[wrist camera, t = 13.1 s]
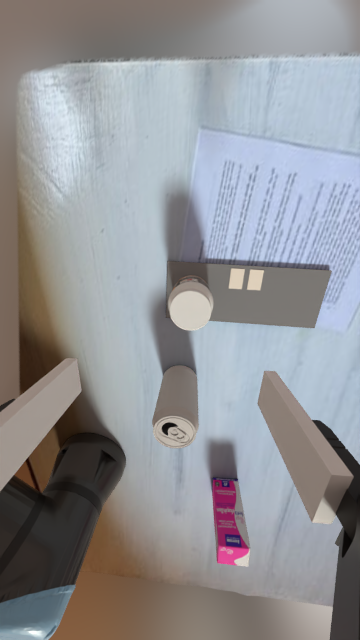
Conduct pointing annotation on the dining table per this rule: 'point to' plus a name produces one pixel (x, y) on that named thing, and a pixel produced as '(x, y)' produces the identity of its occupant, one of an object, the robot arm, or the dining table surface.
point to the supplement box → (229, 523)
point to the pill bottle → (190, 303)
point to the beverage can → (177, 408)
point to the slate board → (257, 292)
